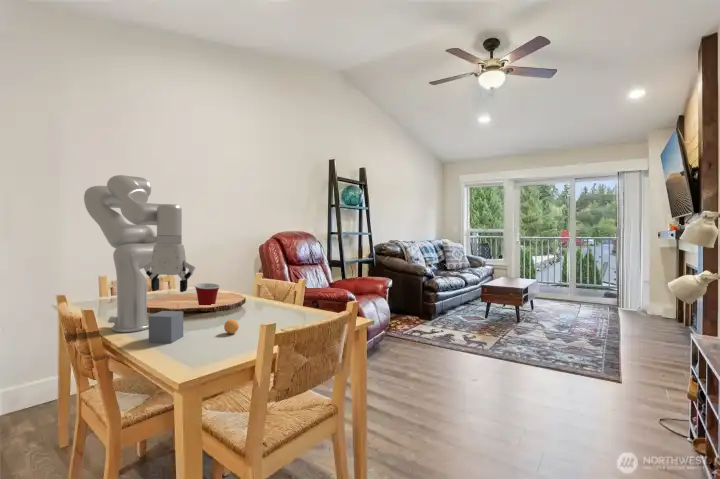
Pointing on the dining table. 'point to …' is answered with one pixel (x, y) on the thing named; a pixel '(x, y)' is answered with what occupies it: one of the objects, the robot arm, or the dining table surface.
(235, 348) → the dining table surface
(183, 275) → the robot arm
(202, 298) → the plastic cup
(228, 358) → the dining table surface
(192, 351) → the dining table surface
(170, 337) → the grey matte cube
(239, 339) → the dining table surface
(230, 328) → the ball
